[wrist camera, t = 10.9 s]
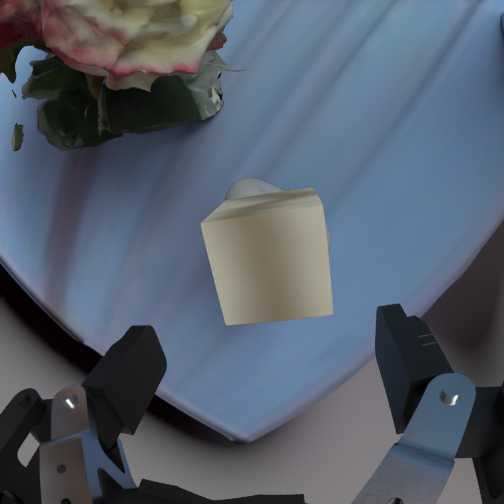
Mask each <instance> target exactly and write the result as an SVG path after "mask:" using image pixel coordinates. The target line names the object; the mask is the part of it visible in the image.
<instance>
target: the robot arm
mask: <svg viewBox="0 0 504 504" xmlns="http://www.w3.org/2000/svg"><path fill="white" fill-rule="evenodd" d="M501 24H502V30H503V33H504V13H503V15H502V18H501ZM375 353H376V359H377V363H378V366H379V370H380V373H381V377H382V380H383V383H384V387H385V391H386V394H387V398H388V402H389V406H390V409H391V413H392V417H393V421H394V425H395V429H396V434H401V433H403V435H402V436H401V438H400V440H399V441H398V443H395V444H394V445H393V446H392V447H391V449H390V450H389V452H388V453H387V454H386V456H385V458H384V459H383V460H382V462H381V464H380V465H379V467H378V468H377V469H376V471H375V472H374V474H373V475H372V477H371V478H370V479H369V481H368V482H367V483H366V485H365V486H364V487H363V489H362V490H361V492H360V493H359V494H358V495H357V497H356V498H355V499H354V501H353V502H352V503H351V504H436V502H437V500H438V499H439V497H440V495H441V493H442V491H443V489H444V487H445V485H446V483H447V481H448V478H449V476H450V474H451V472H452V469H453V467H454V463H455V461H454V458H472V460H473V464H474V468H475V472H476V476H477V480H478V484H479V489H480V494H481V499H482V504H504V381H503V384H502V386H500V387H474V385H473V383H472V382H471V381H470V380H469V379H468V378H466V377H465V376H462V375H460V374H455V373H454V372H453V370H452V368H451V366H450V364H449V363H448V361H447V359H446V357H445V355H444V353H443V352H442V350H441V348H440V347H439V345H438V343H436V340H435V338H434V336H433V335H432V333H431V331H430V329H429V328H428V326H427V324H426V323H425V322H423V321H422V320H421V319H419V318H418V317H416V316H409V317H407V316H406V314H405V312H404V310H403V309H402V307H401V305H400V304H399V303H398V304H392V305H385V306H379V307H378V308H377V314H376V336H375ZM166 368H167V361H166V357H165V355H164V352H163V350H162V347H161V345H160V342H159V340H158V337H157V335H156V332H155V330H154V328H153V327H152V326H150V325H139V326H131V327H130V328H129V330H128V331H127V332H126V333H125V335H124V336H123V337H122V338H121V339H120V340H119V341H117V342H116V343H115V344H113V345H112V346H111V347H110V348H109V350H108V351H107V352H106V354H105V356H103V357H102V359H101V360H100V363H98V364H97V365H96V366H95V368H94V369H93V370H92V372H91V373H90V374H89V375H88V377H87V378H86V380H85V381H84V382H83V383H82V385H81V386H79V385H72V386H68V387H65V388H63V389H62V390H60V391H59V392H58V393H57V394H56V395H55V397H54V398H53V399H46V400H42V398H41V397H40V396H39V394H38V393H37V391H36V390H35V389H31V388H29V389H25V390H23V391H20V392H19V393H18V394H17V395H15V397H14V398H13V399H12V400H11V401H10V403H9V404H8V405H7V406H6V408H5V409H4V410H3V412H2V413H1V414H0V504H307V503H305V501H304V494H299V495H298V494H296V495H254V496H248V497H241V498H234V499H226V500H210V499H207V498H205V497H202V496H199V495H197V494H194V493H192V492H189V491H187V490H185V489H182V488H180V487H178V486H174V485H169V484H164V483H159V482H154V481H150V480H145V479H142V480H141V483H140V485H139V487H137V486H136V485H135V483H134V481H133V479H132V476H131V473H130V469H129V466H128V463H127V460H126V457H125V453H124V449H123V446H122V442H121V440H120V439H119V438H118V436H119V434H120V433H126V434H130V435H134V433H135V431H136V429H137V427H138V425H139V423H140V421H141V419H142V417H143V415H144V413H145V411H146V409H147V407H148V405H149V403H150V401H151V399H152V397H153V396H154V394H155V392H156V390H157V388H158V386H159V384H160V382H161V380H162V378H163V376H164V374H165V372H166ZM29 433H31V434H32V436H33V437H34V438H35V439H36V440H37V441H38V442H39V444H40V445H39V447H38V449H37V450H36V452H35V453H34V455H33V457H32V458H31V460H30V462H29V463H28V465H27V467H25V466H23V465H22V464H21V463H20V461H19V460H18V456H17V453H18V450H19V448H20V446H21V445H22V443H23V442H24V440H25V439H26V437H27V436H28V434H29Z"/></svg>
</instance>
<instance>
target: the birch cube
mask: <svg viewBox="0 0 504 504" xmlns="http://www.w3.org/2000/svg"><path fill="white" fill-rule="evenodd" d="M200 224H201V228H202V233H203V237H204V241H205V245H206V249H207V254H208V258H209V262H210V266H211V270H212V274H213V278H214V282H215V286H216V289H217V293H218V297H219V301H220V305H221V309H222V312H223V316H224V320H225V323H226V325H239V324H251V323H263V322H273V321H284V320H293V319H302V318H311V317H319V316H327V315H333V304H332V290H331V277H330V266H329V255H328V245H327V236H326V227H325V218H324V210H323V204H322V203H321V201H320V199H319V197H318V195H317V193H316V191H315V189H314V187H309V188H302V189H294V190H287V191H280V192H274V193H267V194H261V195H254V196H248V197H242V198H236V199H230V200H225V201H224V202H223V203H222V204H221V205H220V206H219V207H217V208H216V209H215V210H214V211H213V212H212V213H211V214H210V215H209V216H208V217H207V218H206V219H205V220H203V221H202V222H201V223H200Z"/></svg>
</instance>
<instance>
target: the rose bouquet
mask: <svg viewBox="0 0 504 504" xmlns="http://www.w3.org/2000/svg"><path fill="white" fill-rule="evenodd" d="M231 1H232V0H0V73H2V72H3V73H4V74H5V75H6V76H7V77H8V80H9V81H10V82H11V83H14V82H15V79H16V72H15V63H16V60H17V56H18V54H19V52H20V51H21V49H22V48H23V47H25V46H32V45H33V46H34V47H35V48H37V49H39V50H42V51H44V52H46V53H48V55H47V56H46V58H45V59H44V60H40V61H31V62H30V63H29V64H30V65H31V66H33V71H32V72H33V73H31V74H32V75H31V77H30V78H29V79H28V82H26V84H24V85H23V87H22V94H23V96H22V98H23V99H26V98H28V97H29V98H31V97H32V98H36V99H42V98H49V99H50V100H47V101H46V102H44V103H42V104H41V105H40V106H38V110H37V113H38V114H37V115H38V116H37V117H38V119H37V120H38V123H37V125H38V127H37V128H38V131H39V132H40V133H42V134H43V135H45V136H46V138H47V140H48V142H49V143H50V144H52V145H53V146H55V147H57V148H58V149H60V150H61V151H63V150H69V149H76V148H83V147H90V146H92V147H94V146H96V145H98V144H100V143H103V142H106V141H107V140H110V139H113V138H116V137H121V136H122V135H123V133H134V132H135V133H148V132H152V131H156V130H162V129H167V128H171V127H174V126H177V125H180V124H182V123H185V122H189V121H193V120H204V119H207V118H209V117H212V116H214V115H215V114H216V112H218V111H219V110H220V109H221V107H222V106H223V103H224V102H223V100H222V98H221V97H222V96H223V93H222V91H221V89H220V79H219V78H220V75H221V73H220V74H219V75H218V74H217V71H218V70H227V71H231V70H230V69H229V67H228V66H227V65H226V64H225V63H224V61H223V60H222V59H221V58H220V57H219V55H218V54H217V53H216V51H215V50H217V49H220V48H223V44H224V43H225V42H226V41H227V39H226V37H225V35H224V34H223V31H224V28H225V26H226V24H227V23H228V22H229V21H230V19H231V18H233V7H232V3H231ZM221 32H222V33H221ZM232 71H242V70H232ZM221 72H222V71H221ZM12 91H13V90H12ZM13 94H14V96H15V98H16V97H17V96H16V95H15V93H14V92H13ZM23 135H24V127H23V125H17V123H16V125H15V130H14V133H13V141H12V147H13V151H17V150H19V149H20V147H21V144H22V142H23ZM78 137H81V138H82V140H83V143H84V145H83V146H81V147H75V146H74V143H75V141H76V140H77V139H78Z"/></svg>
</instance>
